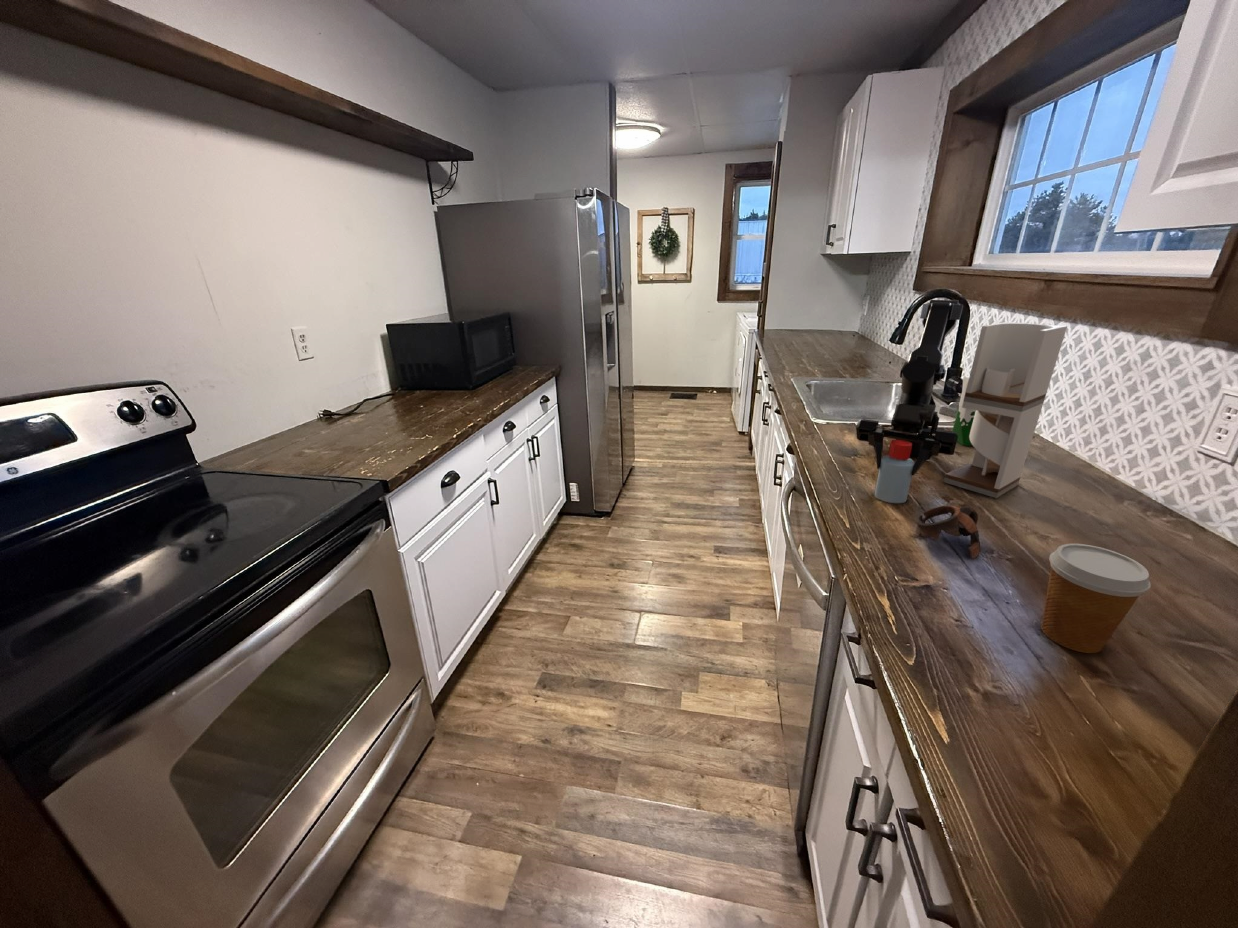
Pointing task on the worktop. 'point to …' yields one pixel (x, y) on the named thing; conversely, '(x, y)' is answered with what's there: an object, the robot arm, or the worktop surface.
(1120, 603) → the disposable coffee cup
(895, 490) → the bottle
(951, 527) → the pottery mug
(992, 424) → the white tower frame
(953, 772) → the worktop surface
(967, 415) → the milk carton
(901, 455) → the cap
